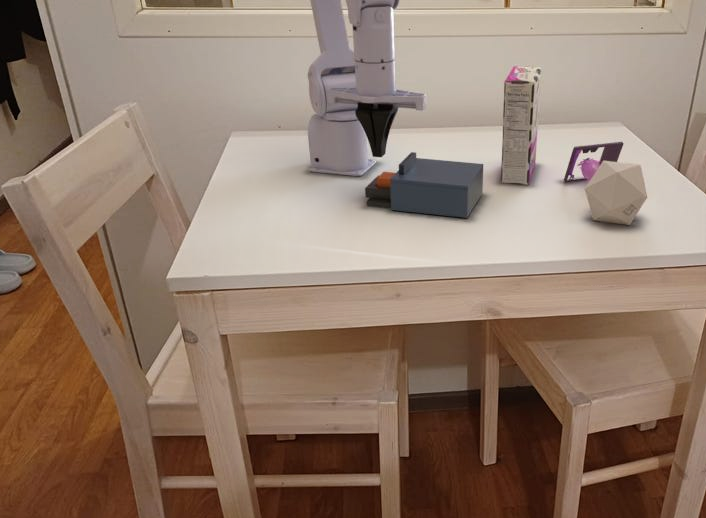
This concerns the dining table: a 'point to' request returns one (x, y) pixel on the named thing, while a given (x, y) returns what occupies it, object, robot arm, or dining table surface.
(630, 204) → the die
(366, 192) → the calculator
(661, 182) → the dining table surface
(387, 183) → the on key
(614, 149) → the purple piece
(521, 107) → the candy bar box
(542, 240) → the dining table surface
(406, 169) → the cover
